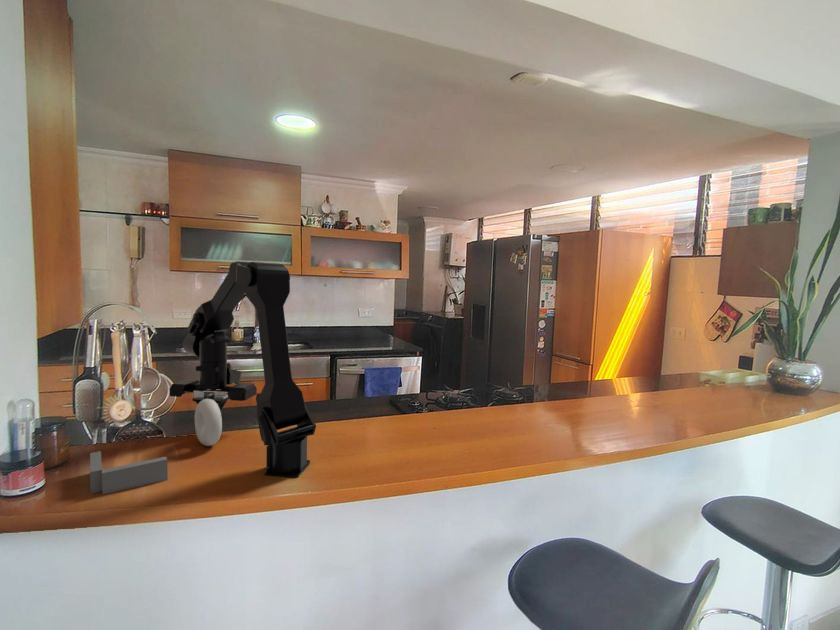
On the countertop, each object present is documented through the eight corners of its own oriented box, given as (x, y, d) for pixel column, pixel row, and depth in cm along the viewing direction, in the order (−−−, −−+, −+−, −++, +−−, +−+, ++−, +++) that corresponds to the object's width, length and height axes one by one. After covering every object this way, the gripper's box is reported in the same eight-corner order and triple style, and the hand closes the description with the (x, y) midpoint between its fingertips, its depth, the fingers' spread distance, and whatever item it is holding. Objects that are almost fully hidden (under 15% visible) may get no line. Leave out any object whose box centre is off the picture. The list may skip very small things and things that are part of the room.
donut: (224, 449, 85) (224, 403, 84) (206, 454, 82) (206, 406, 81) (209, 435, 92) (208, 392, 91) (192, 439, 89) (192, 395, 89)
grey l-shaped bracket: (172, 478, 72) (171, 456, 72) (138, 500, 65) (138, 476, 64) (96, 471, 73) (95, 450, 73) (55, 492, 66) (54, 469, 66)
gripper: (267, 356, 102) (267, 416, 103) (198, 352, 104) (199, 412, 105) (243, 365, 91) (244, 432, 92) (167, 360, 93) (168, 427, 94)
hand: (213, 425), depth 96 cm, fingers closed
